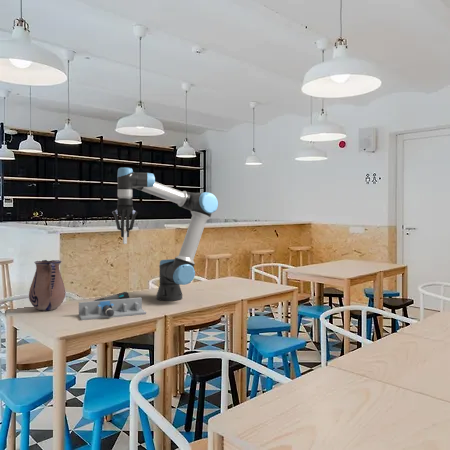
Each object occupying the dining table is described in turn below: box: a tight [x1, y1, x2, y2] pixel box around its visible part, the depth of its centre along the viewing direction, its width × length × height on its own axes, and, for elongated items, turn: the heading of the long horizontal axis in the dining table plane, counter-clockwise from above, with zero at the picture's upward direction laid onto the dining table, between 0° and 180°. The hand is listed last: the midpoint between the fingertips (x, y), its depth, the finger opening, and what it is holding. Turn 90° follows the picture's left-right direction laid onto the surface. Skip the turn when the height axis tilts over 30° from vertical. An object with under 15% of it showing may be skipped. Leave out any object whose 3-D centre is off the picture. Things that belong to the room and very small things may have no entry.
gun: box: [93, 291, 130, 301], centre depth 239 cm, size 4×20×10 cm, turn 116°
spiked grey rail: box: [78, 297, 147, 321], centre depth 220 cm, size 31×10×6 cm, turn 115°
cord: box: [103, 305, 114, 318], centre depth 217 cm, size 10×4×4 cm, turn 25°
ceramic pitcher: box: [28, 259, 66, 312], centre depth 230 cm, size 18×21×25 cm
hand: (124, 243), depth 231 cm, fingers closed
